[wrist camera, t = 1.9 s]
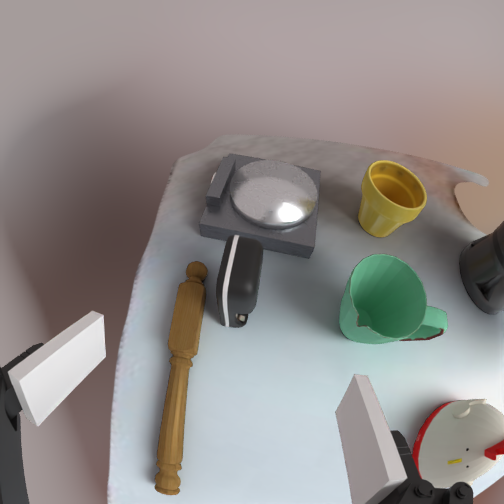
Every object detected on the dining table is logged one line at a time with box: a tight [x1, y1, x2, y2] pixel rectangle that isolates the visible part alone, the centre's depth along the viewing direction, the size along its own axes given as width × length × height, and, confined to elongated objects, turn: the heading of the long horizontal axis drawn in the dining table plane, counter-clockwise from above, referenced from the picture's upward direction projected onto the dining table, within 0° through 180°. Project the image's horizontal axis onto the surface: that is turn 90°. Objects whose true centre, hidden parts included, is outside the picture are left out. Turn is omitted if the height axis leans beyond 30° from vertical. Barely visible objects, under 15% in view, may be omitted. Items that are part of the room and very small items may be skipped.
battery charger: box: [216, 235, 263, 328], centre depth 30 cm, size 7×4×11 cm, turn 171°
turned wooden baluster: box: [155, 261, 208, 495], centre depth 29 cm, size 3×3×30 cm
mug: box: [339, 254, 448, 344], centre depth 30 cm, size 15×10×10 cm
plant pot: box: [358, 160, 427, 237], centre depth 40 cm, size 10×10×10 cm
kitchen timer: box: [412, 399, 504, 488], centre depth 18 cm, size 14×14×15 cm
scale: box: [199, 154, 320, 258], centre depth 42 cm, size 16×16×5 cm
